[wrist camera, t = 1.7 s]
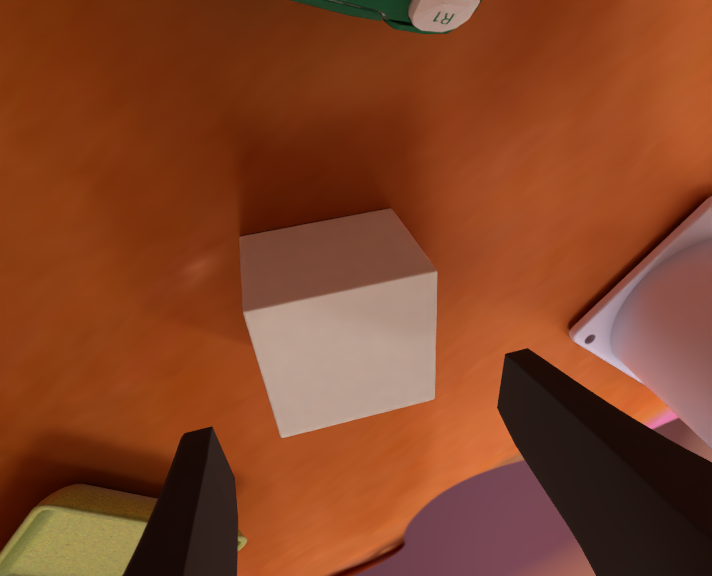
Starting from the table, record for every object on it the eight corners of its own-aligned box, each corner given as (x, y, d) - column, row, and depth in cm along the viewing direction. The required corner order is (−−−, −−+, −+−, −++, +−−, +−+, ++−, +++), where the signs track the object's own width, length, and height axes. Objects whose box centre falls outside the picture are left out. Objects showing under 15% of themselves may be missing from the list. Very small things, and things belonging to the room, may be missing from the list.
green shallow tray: (249, 498, 22) (251, 541, 20) (159, 588, 24) (154, 633, 22) (55, 452, 17) (36, 503, 15) (-31, 570, 20) (-55, 624, 18)
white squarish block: (391, 206, 15) (438, 270, 11) (397, 323, 17) (435, 399, 14) (238, 236, 14) (242, 311, 11) (270, 352, 17) (281, 439, 14)
